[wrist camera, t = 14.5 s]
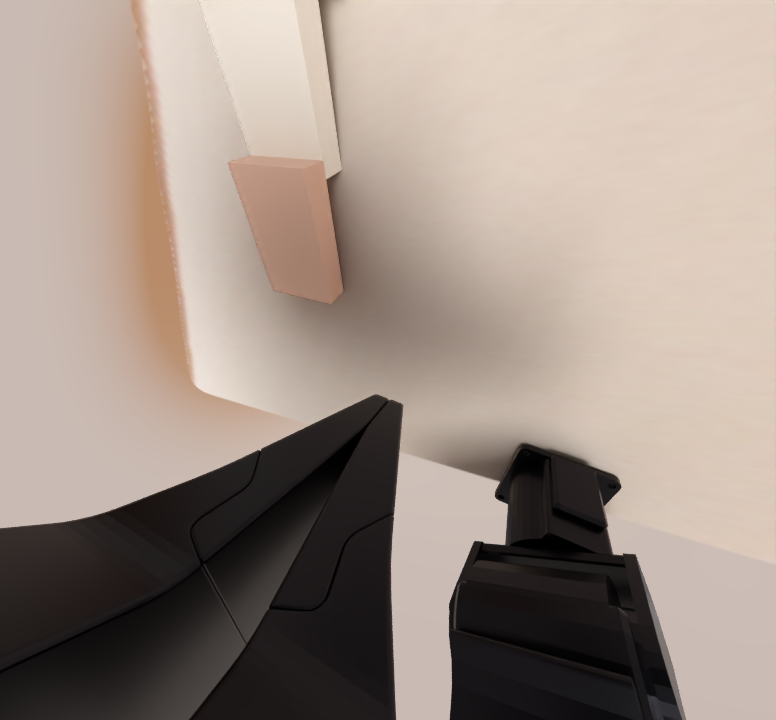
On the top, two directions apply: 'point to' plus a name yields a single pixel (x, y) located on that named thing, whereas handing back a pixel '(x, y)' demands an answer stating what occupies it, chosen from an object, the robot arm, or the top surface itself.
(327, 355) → the top surface
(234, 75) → the domino
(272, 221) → the domino
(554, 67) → the top surface
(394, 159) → the top surface
